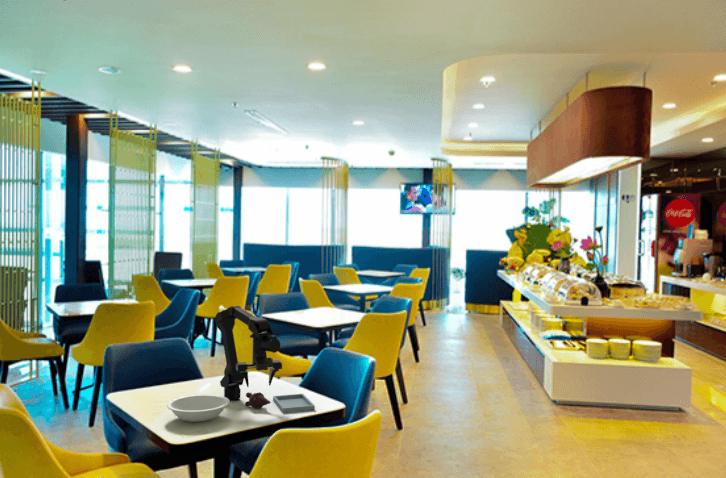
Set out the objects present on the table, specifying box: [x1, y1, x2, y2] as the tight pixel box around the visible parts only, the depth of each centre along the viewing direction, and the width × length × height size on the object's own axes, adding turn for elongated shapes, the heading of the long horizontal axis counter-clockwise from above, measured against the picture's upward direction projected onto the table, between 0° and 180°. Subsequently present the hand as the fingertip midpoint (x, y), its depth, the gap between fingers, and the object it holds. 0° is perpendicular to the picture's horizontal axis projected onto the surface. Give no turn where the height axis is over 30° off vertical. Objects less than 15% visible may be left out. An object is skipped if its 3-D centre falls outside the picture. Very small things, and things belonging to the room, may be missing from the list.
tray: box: [272, 393, 316, 414], centre depth 247 cm, size 14×20×2 cm
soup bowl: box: [166, 394, 231, 423], centre depth 226 cm, size 24×24×7 cm
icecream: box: [244, 391, 271, 410], centre depth 241 cm, size 7×7×15 cm
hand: (258, 386), depth 241 cm, fingers open, 9 cm apart
